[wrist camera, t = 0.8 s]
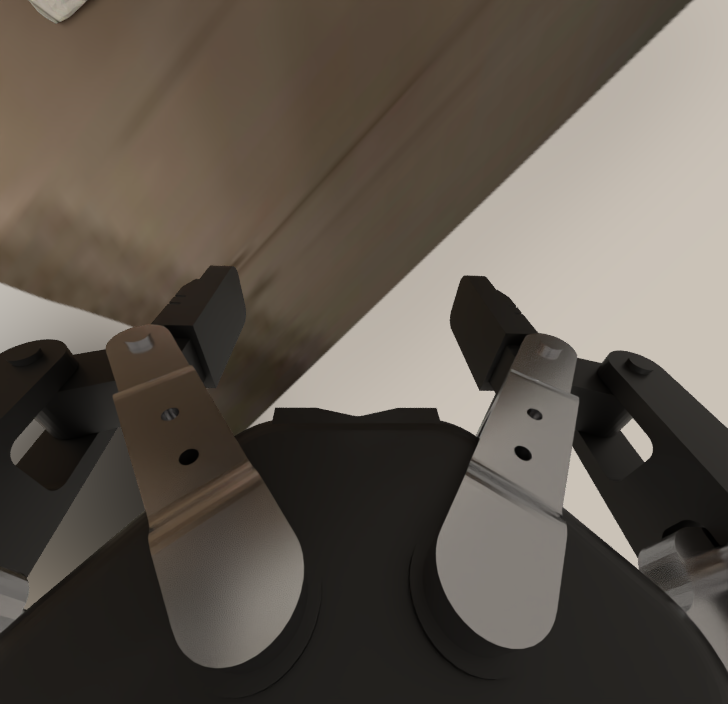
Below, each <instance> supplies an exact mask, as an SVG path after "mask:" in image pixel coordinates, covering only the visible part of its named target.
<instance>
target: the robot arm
mask: <svg viewBox="0 0 728 704" xmlns="http://www.w3.org/2000/svg"><path fill="white" fill-rule="evenodd" d="M175 296H176V297H173V299H172V300H171V301H170V302H169V303H170V304H167V306H166V307H165V308H164V309H163V310H162V312H161V313H160V314H159V315H158V316H157V317H156V319H155V320H154V321H153V322H152V323H151V325H141V326H136V327H133V328H130V329H127V330H125V331H123V332H120V333H118V334H117V335H115V336H114V337H113V338H112V339H111V340H110V341H109V342H108V343H107V345H106V349H105V350H99V351H93V352H87V353H81V354H75V355H73V354H72V353H71V352H70V350H69V349H68V348H67V346H66V345H65V344H64V343H63V342H61V341H58V340H49V339H46V340H37V341H32V342H28V343H24V344H21V345H18V346H15V347H13V348H10V349H8V350H6V351H4V352H2V353H1V354H0V704H728V428H727V427H725V426H724V425H723V424H722V423H721V422H720V421H719V420H718V419H717V418H716V417H714V415H712V414H711V413H710V412H709V411H708V410H707V409H706V408H705V407H704V406H703V405H701V404H700V403H699V402H698V401H697V400H696V399H695V398H694V397H693V396H692V395H691V394H689V392H687V391H686V390H685V389H684V388H683V387H682V386H681V385H680V384H679V383H678V382H677V381H676V380H674V379H673V378H672V377H671V376H670V375H669V374H668V373H667V372H666V371H664V369H663V368H661V367H660V366H659V365H657V364H656V363H654V362H653V361H651V360H649V359H647V358H645V357H643V356H641V355H638V354H635V353H631V352H627V351H613V352H611V353H609V355H608V356H607V357H606V359H605V360H604V361H603V362H602V363H598V362H593V361H589V360H584V359H580V358H577V354H576V352H575V350H574V349H573V348H572V347H571V346H570V345H569V344H567V343H566V342H564V341H563V340H561V339H559V338H556V337H554V336H551V335H547V334H541V333H538V332H537V331H536V330H535V329H534V327H533V326H532V325H531V324H530V322H529V321H528V320H527V319H526V317H525V316H524V315H523V314H521V311H520V310H519V309H518V308H516V305H515V304H514V303H513V302H512V300H511V299H510V298H509V297H507V296H506V295H505V294H503V293H501V292H500V291H498V290H496V289H495V288H494V286H493V285H492V284H491V283H490V281H489V280H488V279H487V278H486V277H485V276H463V277H462V279H461V281H460V284H459V287H458V290H457V294H456V297H455V300H454V303H453V307H452V310H451V315H450V326H451V329H452V331H453V334H454V335H455V338H456V340H457V342H458V345H459V347H460V349H461V351H462V353H463V355H464V358H465V360H466V362H467V364H468V366H469V369H470V371H471V373H472V375H473V377H474V380H475V382H476V384H477V386H478V388H479V390H480V391H495V393H496V394H495V396H494V398H493V400H492V402H491V404H490V406H489V409H488V411H487V413H486V415H485V417H484V420H483V421H482V424H481V426H480V428H479V430H478V432H477V434H476V436H475V435H473V434H472V433H470V432H468V431H466V430H464V429H463V428H461V427H458V426H456V425H454V424H450V423H447V422H444V421H440V419H439V416H438V412H437V409H436V408H396V409H391V410H387V411H382V412H378V413H373V414H369V415H364V416H352V415H347V414H343V413H338V412H333V411H329V410H323V409H319V408H275V412H274V416H273V420H272V421H268V422H265V423H261V424H258V425H256V426H253V427H251V428H249V429H246V430H245V431H243V432H241V433H239V434H237V435H236V436H234V435H233V433H232V431H231V430H230V428H229V426H228V425H227V423H226V421H225V420H224V418H223V416H222V414H221V413H220V411H219V409H218V408H217V406H216V404H215V403H214V401H213V399H212V398H211V396H210V394H209V392H208V391H207V389H206V388H216V387H217V385H218V382H219V380H220V378H221V376H222V373H223V371H224V369H225V366H226V364H227V362H228V360H229V357H230V355H231V353H232V350H233V348H234V346H235V344H236V341H237V339H238V337H239V335H240V332H241V330H242V328H243V325H244V323H245V319H246V308H245V303H244V298H243V294H242V289H241V285H240V280H239V276H238V272H237V270H236V268H235V267H234V266H210V267H209V268H208V269H207V270H206V271H205V273H204V274H203V275H202V277H201V278H200V279H195V280H193V281H192V282H190V283H188V284H186V285H184V286H183V287H182V288H181V289H180V290H179V291H178V293H177V294H176V295H175ZM632 418H634V420H635V421H636V422H637V423H638V424H639V426H640V427H641V428H642V429H643V431H644V432H645V433H646V434H647V435H648V437H649V438H650V440H651V442H652V445H653V453H652V456H651V457H650V458H649V459H648V460H647V461H646V462H644V461H643V460H642V459H641V457H640V456H639V455H638V453H637V452H636V451H635V449H634V448H633V447H632V445H631V444H630V443H629V442H628V440H627V439H626V437H625V436H624V435H623V433H622V432H621V431H620V430H621V428H623V427H624V426H625V425H626V424H627V423H628V422H629V421H630V420H631V419H632ZM33 419H35V420H36V421H37V422H38V423H39V424H40V425H41V426H42V427H43V428H45V431H44V432H43V433H42V434H41V435H40V437H39V438H38V439H37V440H36V442H35V443H34V444H33V445H32V447H31V448H30V449H29V450H28V451H27V453H26V454H25V455H24V456H23V458H22V459H21V460H20V461H19V462H18V464H17V465H16V466H15V465H14V464H13V462H12V461H11V457H10V451H11V447H12V445H13V443H14V441H15V440H16V439H17V437H18V436H19V435H20V434H21V433H22V432H23V431H24V430H25V428H26V427H27V426H28V425H29V424H30V423H31V422H32V420H33ZM118 427H121V428H122V431H123V434H124V438H125V442H126V445H127V448H128V452H129V455H130V459H131V462H132V466H133V469H134V473H135V476H136V480H137V483H138V487H139V490H140V493H141V497H142V500H143V503H144V507H145V511H144V512H143V513H141V514H140V515H139V516H138V517H137V518H135V519H134V520H133V521H132V522H131V523H129V524H128V525H127V526H126V527H125V528H123V529H122V530H121V531H120V532H119V533H117V534H116V535H115V536H114V537H113V538H112V539H110V540H109V541H108V542H107V543H106V544H105V545H103V546H102V547H101V548H100V549H98V550H97V551H96V552H95V553H94V554H93V555H91V556H90V557H89V558H88V559H87V560H85V561H84V562H83V563H82V564H81V565H79V566H78V567H77V568H76V569H75V570H74V571H72V572H71V573H70V574H69V575H68V576H66V577H65V578H64V579H63V580H62V581H60V583H58V584H57V585H56V586H55V587H53V588H52V589H51V590H50V591H49V592H48V593H46V594H45V595H44V596H43V597H41V598H40V599H39V600H38V601H37V602H36V603H34V604H33V605H32V606H31V607H30V608H28V609H27V610H26V609H24V606H25V604H26V601H27V598H28V593H29V582H28V580H27V577H28V575H29V573H30V572H31V570H32V568H33V567H34V565H35V563H36V562H37V560H38V559H39V557H40V555H41V554H42V552H43V550H44V548H45V547H46V545H47V543H48V542H49V540H50V539H51V537H52V535H53V534H54V532H55V531H56V529H57V527H58V525H59V524H60V522H61V521H62V519H63V517H64V516H65V514H66V512H67V511H68V509H69V507H70V506H71V504H72V502H73V501H74V499H75V497H76V496H77V494H78V492H79V491H80V489H81V488H82V486H83V484H84V483H85V481H86V479H87V478H88V476H89V474H90V472H91V471H92V469H93V468H94V466H95V464H96V463H97V461H98V459H99V458H100V456H101V454H102V453H103V451H104V450H105V448H106V446H107V445H108V443H109V441H110V440H111V438H112V436H113V435H114V433H115V431H116V430H117V428H118ZM572 446H573V448H574V450H575V451H576V453H577V455H578V456H579V458H580V460H581V462H582V463H583V465H584V467H585V469H586V470H587V472H588V474H589V475H590V477H591V479H592V481H593V482H594V484H595V486H596V487H597V489H598V491H599V493H600V494H601V496H602V498H603V499H604V501H605V503H606V504H607V506H608V508H609V510H610V511H611V513H612V515H613V516H614V518H615V520H616V521H617V523H618V525H619V527H620V528H621V530H622V532H623V533H624V535H625V537H626V539H627V540H628V542H629V544H630V546H631V547H632V549H633V551H634V552H635V554H636V556H637V558H638V565H639V570H638V569H637V568H636V567H635V566H633V565H632V564H631V563H630V562H629V561H627V560H626V559H625V558H624V557H622V556H621V555H620V554H619V553H618V552H617V551H615V550H614V549H613V548H612V547H610V546H609V545H608V544H607V543H606V542H604V541H603V540H602V539H600V537H598V536H597V535H596V534H595V533H593V532H592V531H591V530H590V529H589V528H587V527H586V526H585V525H584V524H582V523H581V522H580V521H579V520H578V519H576V518H575V517H574V516H573V515H572V514H570V513H569V512H568V511H567V510H566V509H564V508H563V500H564V494H565V487H566V481H567V475H568V469H569V462H570V456H571V449H572Z"/></svg>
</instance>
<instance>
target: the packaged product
mask: <svg viewBox="0 0 728 704" xmlns="http://www.w3.org/2000/svg"><path fill="white" fill-rule="evenodd" d="M86 1H87V0H29V2H30V3H31V4H32V5H33V6H34V7H35V9H36V10H37V11H38V12H39V13H40V14H41V15H42V16H44V17H45V18H47V19H48V20H50V21H52V22H54V23H59V22H61V21H63V20H65V19H67V18H69V17H70V16H71V15H72V14H73V13H74V12H76V11H77V10H78V9H79V8H80V7H81V6H82V5H83V4H84V3H85V2H86Z"/></svg>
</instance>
